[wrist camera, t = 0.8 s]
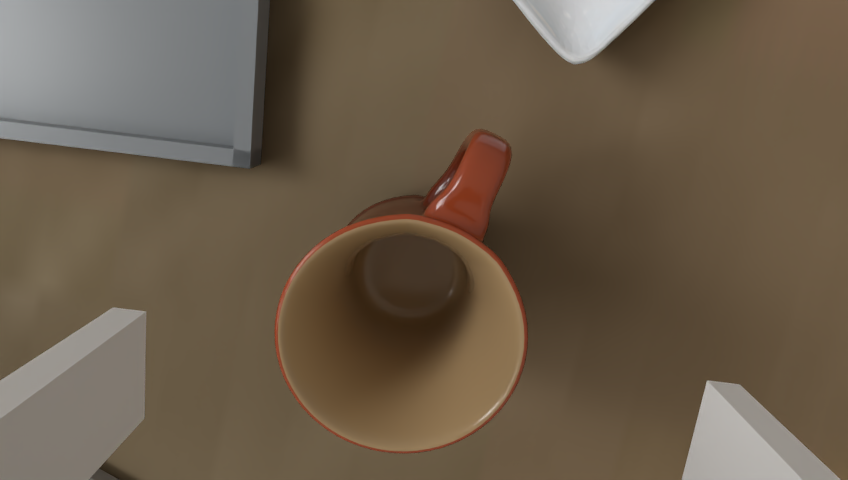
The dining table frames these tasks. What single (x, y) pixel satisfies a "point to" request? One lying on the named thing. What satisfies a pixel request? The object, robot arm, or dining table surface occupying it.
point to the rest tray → (137, 76)
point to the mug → (408, 315)
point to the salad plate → (581, 23)
